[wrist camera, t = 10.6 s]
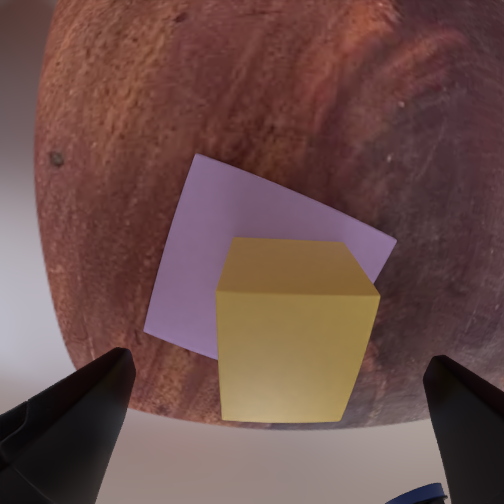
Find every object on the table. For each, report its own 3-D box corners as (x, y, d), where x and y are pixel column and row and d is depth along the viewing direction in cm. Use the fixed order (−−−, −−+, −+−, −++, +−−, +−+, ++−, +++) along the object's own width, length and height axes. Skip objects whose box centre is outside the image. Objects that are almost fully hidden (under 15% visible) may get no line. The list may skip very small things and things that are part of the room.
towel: (304, 381, 13) (305, 386, 13) (145, 327, 13) (143, 331, 12) (394, 238, 11) (397, 240, 10) (197, 152, 10) (195, 153, 9)
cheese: (324, 350, 12) (340, 421, 8) (232, 347, 12) (221, 420, 9) (343, 241, 10) (381, 295, 7) (232, 236, 10) (214, 290, 7)
